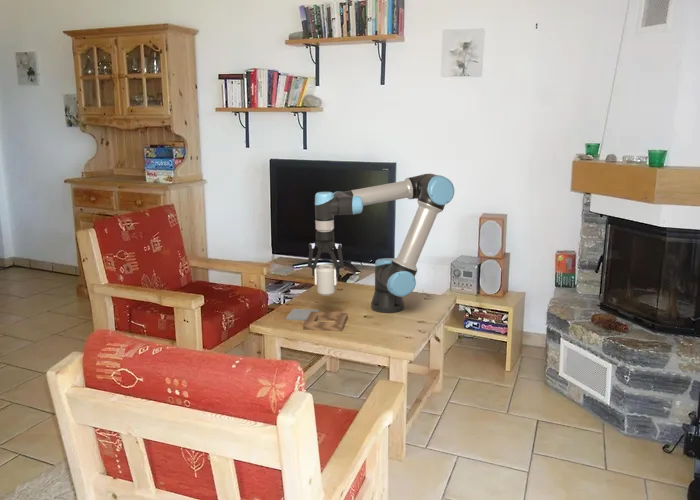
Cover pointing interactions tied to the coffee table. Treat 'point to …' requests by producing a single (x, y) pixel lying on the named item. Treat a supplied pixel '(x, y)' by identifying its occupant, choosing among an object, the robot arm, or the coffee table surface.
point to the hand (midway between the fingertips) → (326, 283)
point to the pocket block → (325, 326)
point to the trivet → (299, 314)
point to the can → (325, 280)
